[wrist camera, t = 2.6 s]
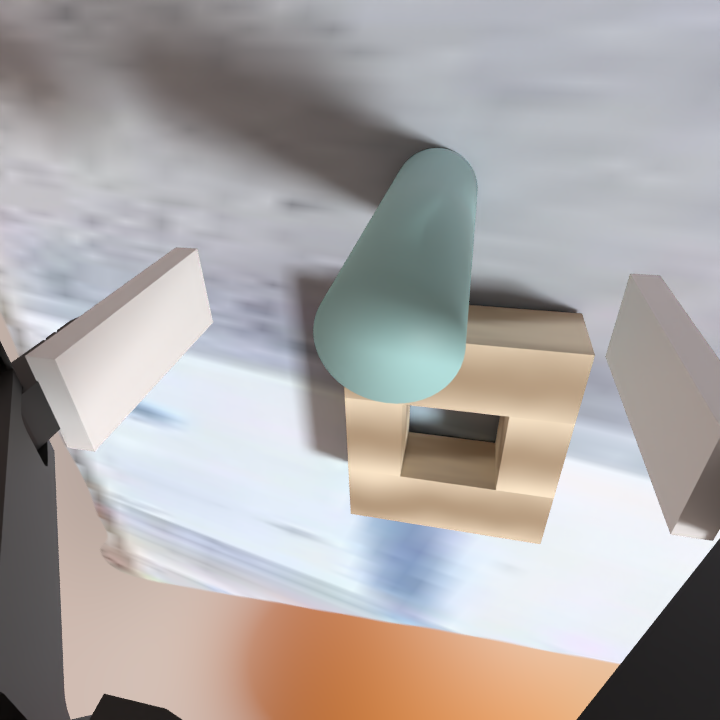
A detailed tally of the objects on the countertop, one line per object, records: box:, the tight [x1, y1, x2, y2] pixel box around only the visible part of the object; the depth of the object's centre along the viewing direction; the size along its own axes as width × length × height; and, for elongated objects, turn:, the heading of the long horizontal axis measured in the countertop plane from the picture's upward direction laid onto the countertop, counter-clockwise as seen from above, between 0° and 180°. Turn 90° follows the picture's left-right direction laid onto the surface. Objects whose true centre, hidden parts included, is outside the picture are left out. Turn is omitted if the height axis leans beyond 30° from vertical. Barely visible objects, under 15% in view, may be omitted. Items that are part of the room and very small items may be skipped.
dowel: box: [313, 148, 477, 404], centre depth 19 cm, size 4×4×14 cm
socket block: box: [344, 305, 595, 544], centre depth 30 cm, size 14×12×4 cm
